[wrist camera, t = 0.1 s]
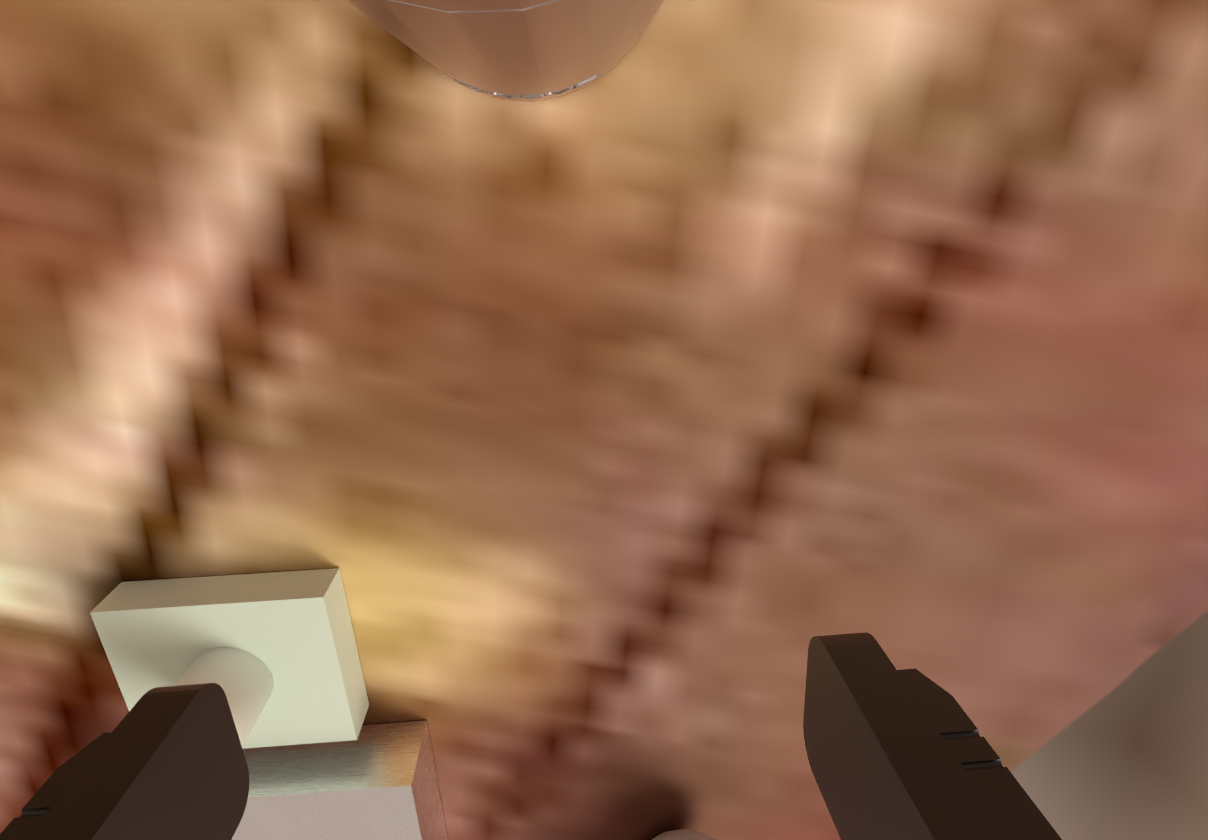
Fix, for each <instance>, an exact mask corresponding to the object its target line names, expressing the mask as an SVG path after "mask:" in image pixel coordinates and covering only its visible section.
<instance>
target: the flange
mask: <svg viewBox="0 0 1208 840" xmlns="http://www.w3.org/2000/svg"><path fill="white" fill-rule="evenodd" d="M243 752H244V756H245V759H246V762H247V766H248V770H249V793H248V799H247V804H246V808H245V811H244V814H243V817H242V819H241V821H240V824H239V826H238V828H237V830H236V832H235V834H234V835H233V837H232V839H231V840H448V837H447V831H446V826H445V820H444V815H443V809H442V803H441V798H440V792H439V787H438V781H437V775H436V770H435V764H434V759H433V753H432V748H431V742H430V736H429V731H428V725H427V720H426V721H412V722H399V723H385V724H372V725H362V727H361V730H360V733H359V736H358V739H357V740H352V741H338V742H325V743H312V744H298V745H285V746H272V747H258V748H245V749H243Z"/></svg>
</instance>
